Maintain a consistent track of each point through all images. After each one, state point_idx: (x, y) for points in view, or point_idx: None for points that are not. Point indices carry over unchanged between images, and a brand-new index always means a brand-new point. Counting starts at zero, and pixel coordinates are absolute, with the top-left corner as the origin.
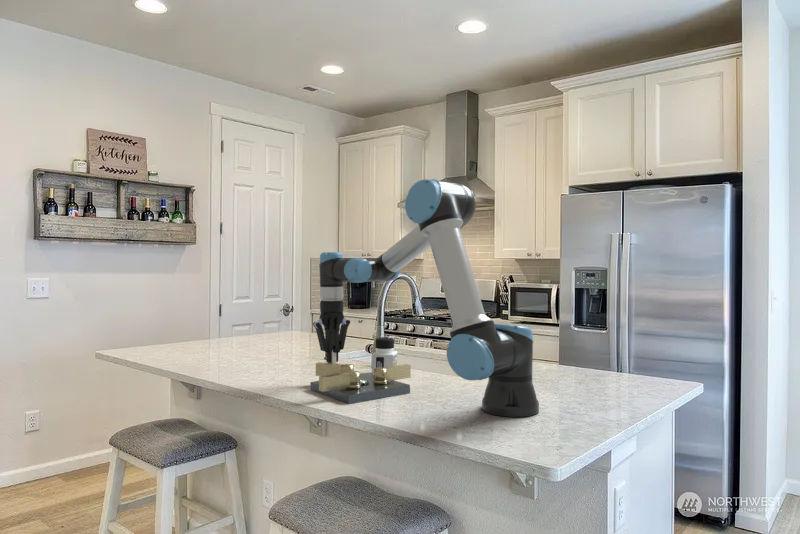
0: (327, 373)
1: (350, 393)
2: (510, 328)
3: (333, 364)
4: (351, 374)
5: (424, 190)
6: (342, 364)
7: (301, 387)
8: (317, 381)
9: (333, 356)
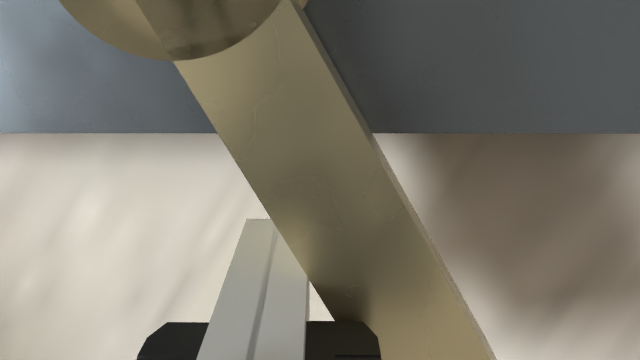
0: (410, 206)
1: None
2: None
3: (359, 169)
4: None
5: None
6: (212, 58)
7: (630, 284)
8: (609, 105)
9: (279, 350)
